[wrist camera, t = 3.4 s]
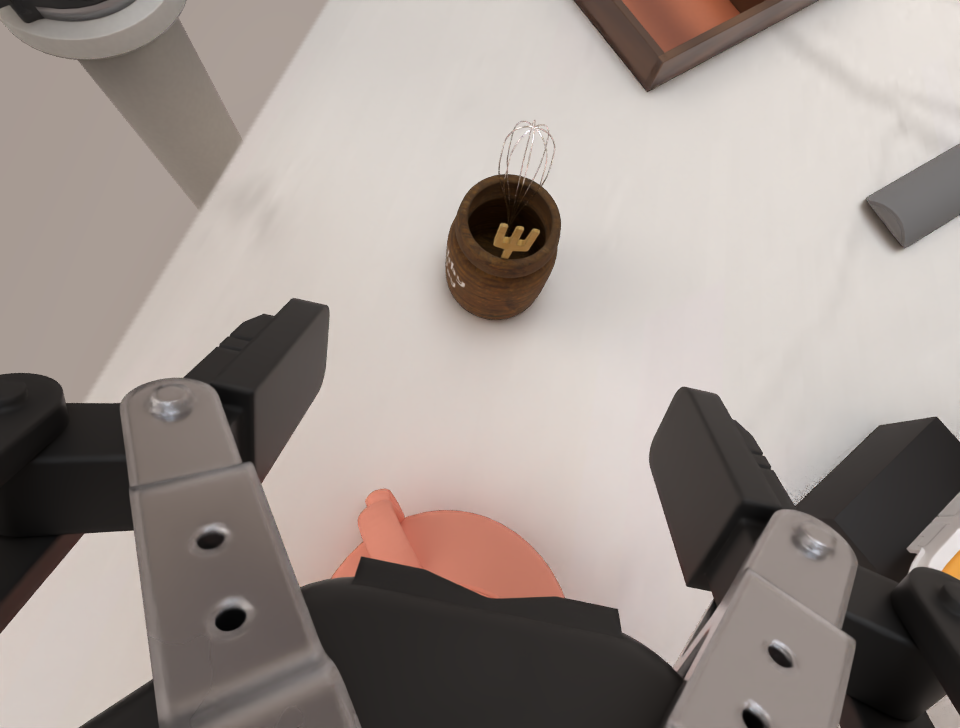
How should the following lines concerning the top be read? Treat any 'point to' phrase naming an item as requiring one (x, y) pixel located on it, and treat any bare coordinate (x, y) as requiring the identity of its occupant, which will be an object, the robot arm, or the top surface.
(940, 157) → the half round rod
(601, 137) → the top surface
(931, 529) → the lamp
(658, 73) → the sorting tray
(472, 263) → the utensil holder
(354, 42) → the top surface
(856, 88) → the top surface
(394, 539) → the pink rounded pot
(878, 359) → the top surface
